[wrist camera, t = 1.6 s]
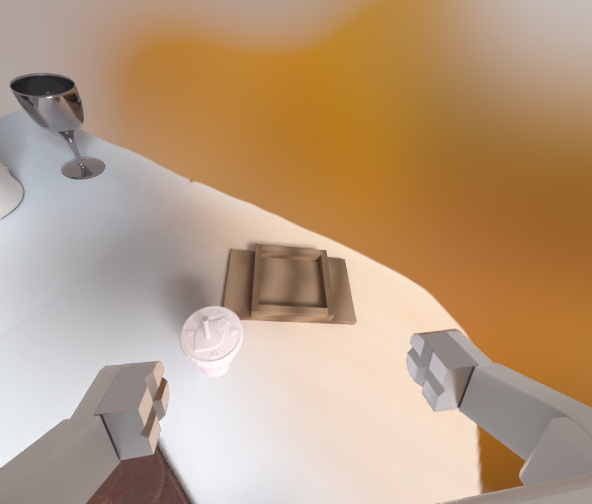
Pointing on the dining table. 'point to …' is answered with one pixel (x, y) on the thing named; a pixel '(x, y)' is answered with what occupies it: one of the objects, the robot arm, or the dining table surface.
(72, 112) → the wine glass
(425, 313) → the dining table surface
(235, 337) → the smoothie
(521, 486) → the robot arm
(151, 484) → the notebook
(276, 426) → the dining table surface
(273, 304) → the tray
